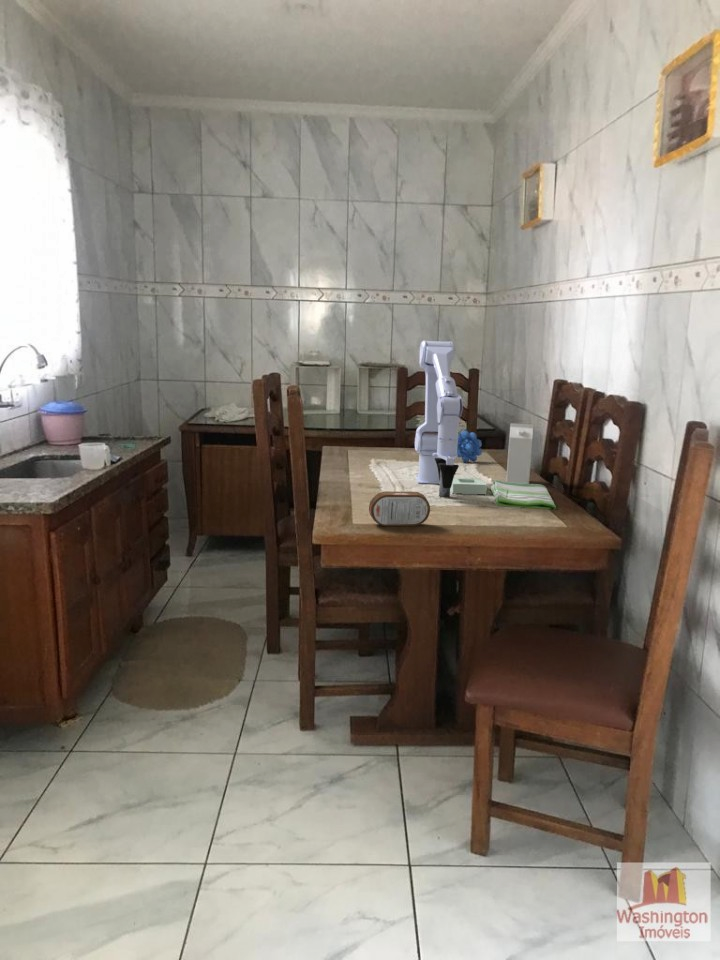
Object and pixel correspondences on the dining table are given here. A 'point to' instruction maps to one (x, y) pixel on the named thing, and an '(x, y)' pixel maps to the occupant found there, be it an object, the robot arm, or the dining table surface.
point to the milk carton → (519, 453)
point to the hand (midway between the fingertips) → (445, 485)
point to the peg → (443, 489)
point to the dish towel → (522, 495)
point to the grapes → (468, 446)
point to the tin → (399, 508)
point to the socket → (468, 486)
